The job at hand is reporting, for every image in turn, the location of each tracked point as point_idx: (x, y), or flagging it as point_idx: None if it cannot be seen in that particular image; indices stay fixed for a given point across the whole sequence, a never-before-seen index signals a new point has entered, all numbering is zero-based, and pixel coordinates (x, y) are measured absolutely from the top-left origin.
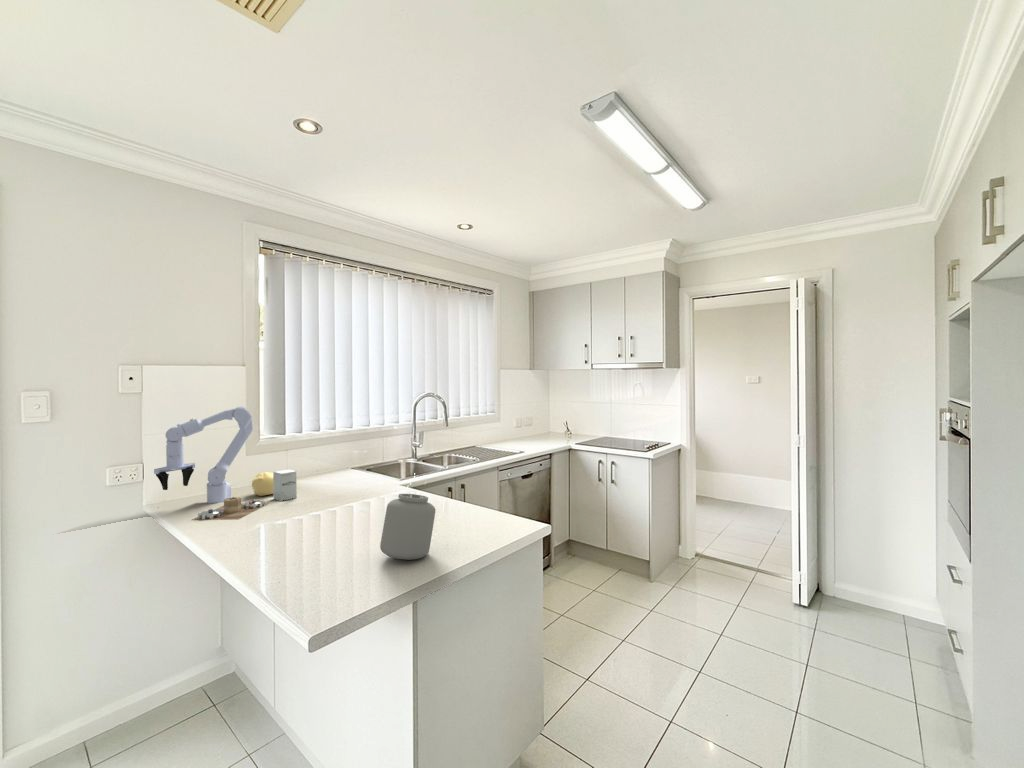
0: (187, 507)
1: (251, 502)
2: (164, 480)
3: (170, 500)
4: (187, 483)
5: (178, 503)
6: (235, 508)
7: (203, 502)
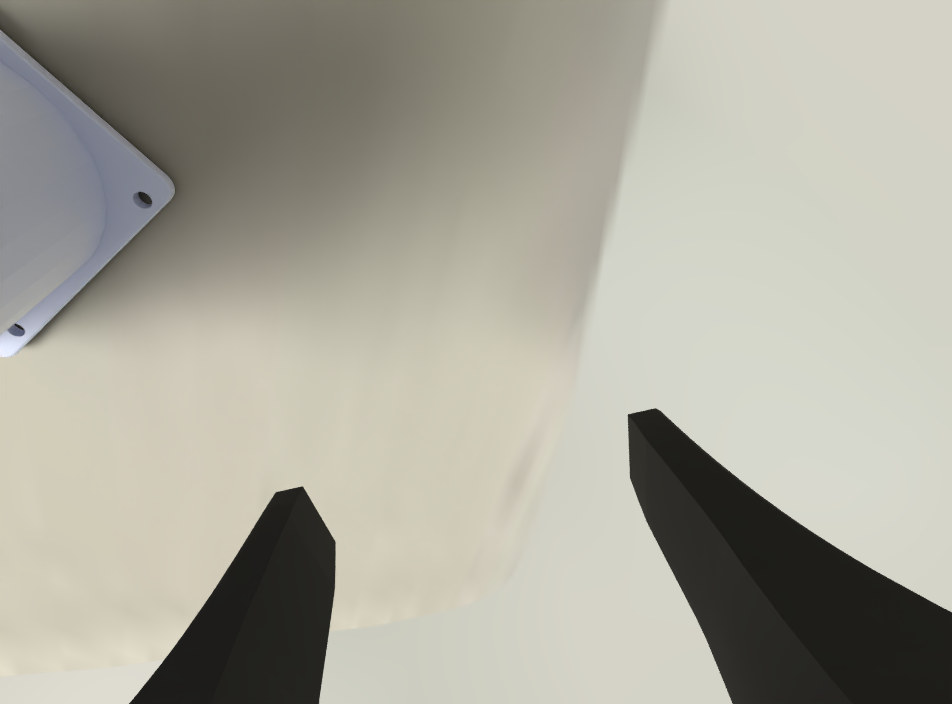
0: (332, 297)
1: None
2: (841, 557)
3: (395, 600)
4: (266, 522)
5: (370, 496)
6: None
7: (161, 384)
